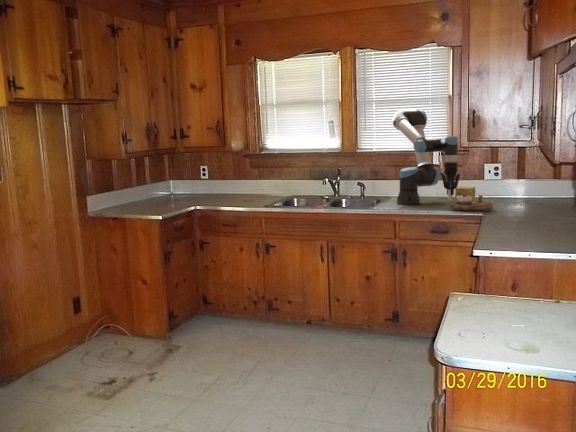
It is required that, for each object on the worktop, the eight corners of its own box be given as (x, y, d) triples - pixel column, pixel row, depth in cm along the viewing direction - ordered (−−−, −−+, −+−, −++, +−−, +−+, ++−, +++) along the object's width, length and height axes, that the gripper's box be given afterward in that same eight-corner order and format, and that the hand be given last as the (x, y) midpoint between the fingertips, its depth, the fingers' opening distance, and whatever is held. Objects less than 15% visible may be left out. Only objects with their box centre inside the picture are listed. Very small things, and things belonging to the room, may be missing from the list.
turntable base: (455, 210, 332) (455, 207, 332) (466, 207, 342) (466, 204, 341) (476, 212, 322) (477, 209, 322) (487, 209, 332) (488, 206, 331)
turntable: (443, 207, 332) (443, 198, 331) (463, 202, 348) (463, 193, 347) (481, 211, 315) (481, 202, 314) (499, 205, 332) (500, 196, 331)
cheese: (470, 204, 353) (471, 188, 351) (454, 203, 359) (454, 188, 357) (475, 201, 362) (475, 186, 360) (458, 201, 368) (459, 186, 366)
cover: (453, 203, 335) (453, 194, 334) (460, 202, 341) (461, 192, 340) (467, 205, 329) (467, 195, 327) (474, 203, 335) (474, 193, 334)
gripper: (438, 161, 339) (437, 199, 343) (457, 162, 330) (456, 201, 334) (444, 160, 344) (443, 198, 348) (463, 161, 335) (462, 200, 339)
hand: (450, 199), depth 341 cm, fingers closed
